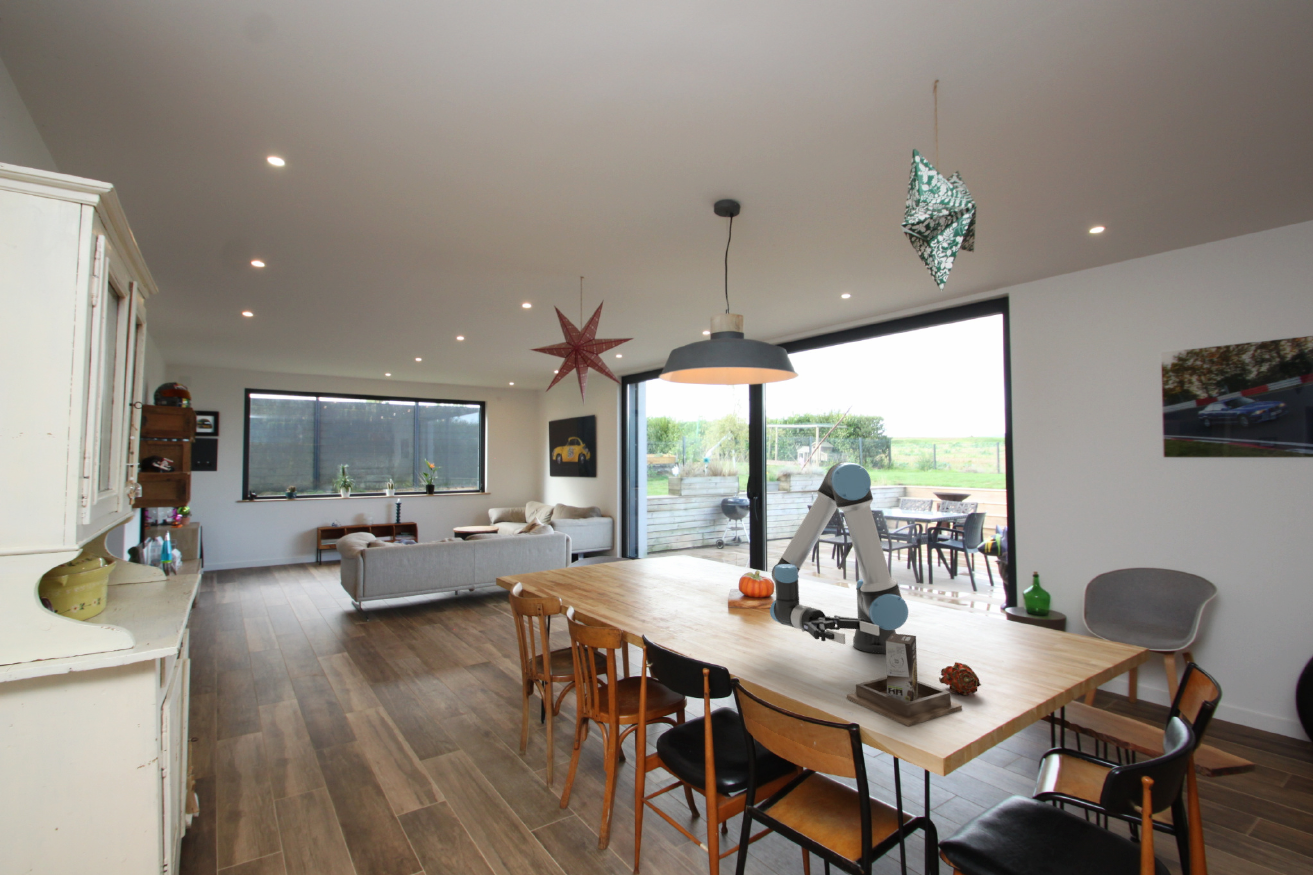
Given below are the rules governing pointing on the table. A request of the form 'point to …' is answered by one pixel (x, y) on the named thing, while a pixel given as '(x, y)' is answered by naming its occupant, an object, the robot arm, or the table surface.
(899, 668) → the coffee box
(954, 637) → the table surface
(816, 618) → the robot arm
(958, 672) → the dragon fruit
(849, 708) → the table surface
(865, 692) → the holder
